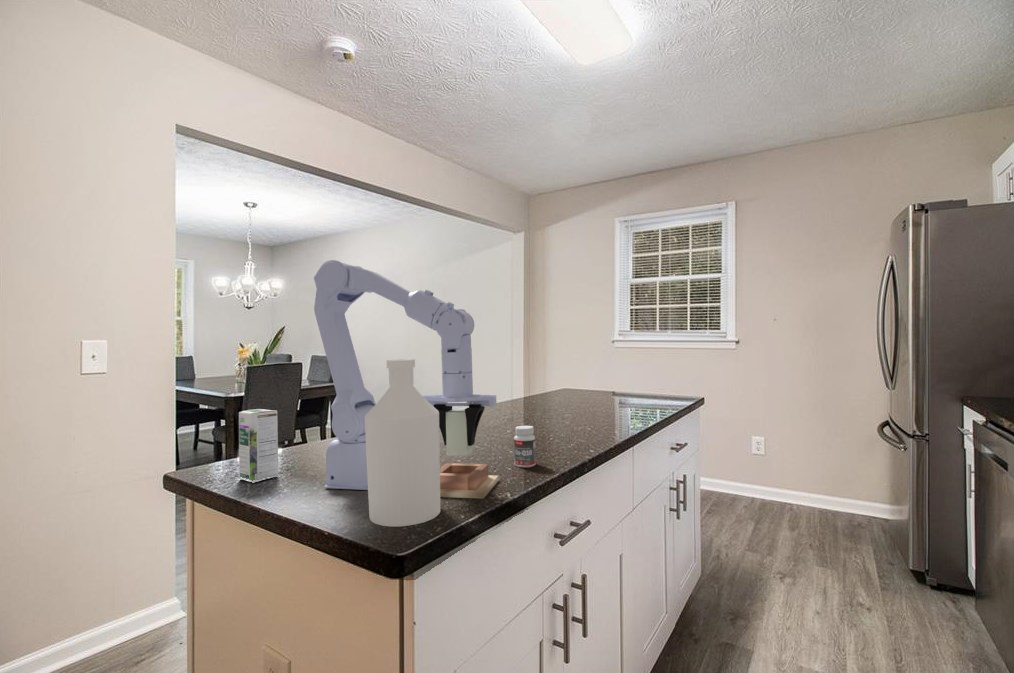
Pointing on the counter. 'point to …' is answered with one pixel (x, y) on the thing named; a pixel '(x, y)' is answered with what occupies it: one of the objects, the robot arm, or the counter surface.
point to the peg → (457, 433)
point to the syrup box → (258, 444)
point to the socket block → (466, 480)
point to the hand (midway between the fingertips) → (459, 444)
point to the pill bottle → (524, 447)
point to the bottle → (402, 453)
